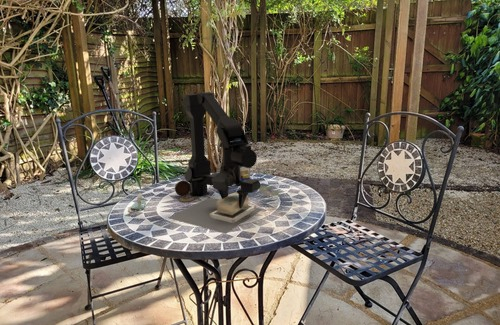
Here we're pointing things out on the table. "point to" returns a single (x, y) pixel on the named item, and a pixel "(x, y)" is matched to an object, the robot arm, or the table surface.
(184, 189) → the compass
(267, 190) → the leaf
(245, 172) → the beverage bottle
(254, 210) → the mat
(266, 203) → the table surface
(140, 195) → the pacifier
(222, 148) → the robot arm
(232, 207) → the slab
